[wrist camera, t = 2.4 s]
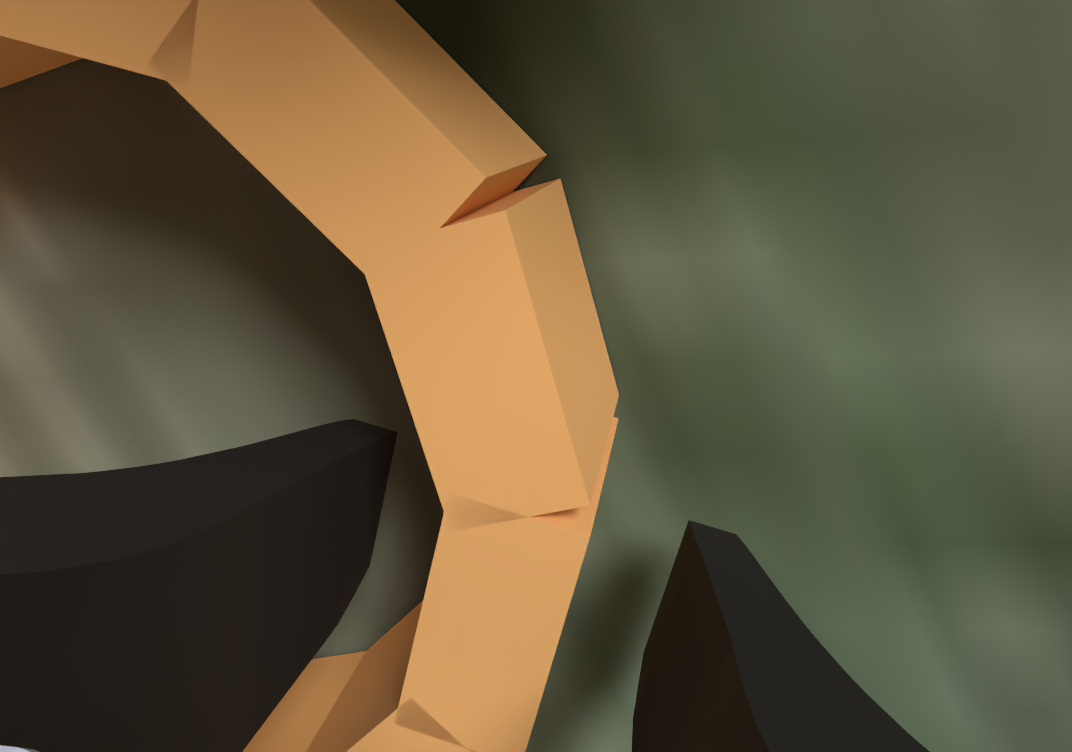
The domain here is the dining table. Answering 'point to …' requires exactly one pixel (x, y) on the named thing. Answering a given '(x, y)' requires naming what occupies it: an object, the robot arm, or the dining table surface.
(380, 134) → the faceted orange ring
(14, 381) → the dining table surface
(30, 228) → the dining table surface
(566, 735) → the dining table surface
